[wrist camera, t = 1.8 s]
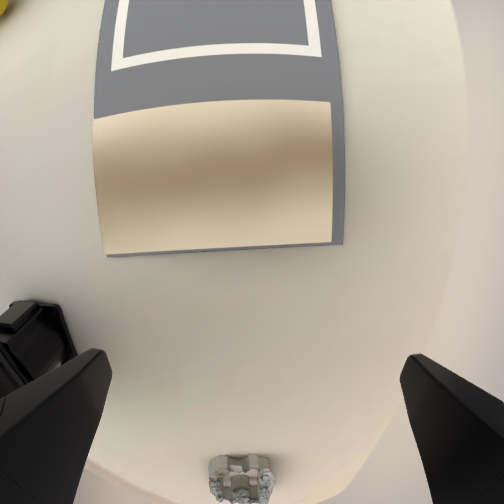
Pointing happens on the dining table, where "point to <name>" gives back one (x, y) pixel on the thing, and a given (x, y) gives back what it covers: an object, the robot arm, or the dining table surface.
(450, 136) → the dining table surface
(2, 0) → the lemon
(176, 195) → the block
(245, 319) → the dining table surface
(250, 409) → the dining table surface
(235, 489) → the egg carton
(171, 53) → the mat
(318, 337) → the dining table surface
